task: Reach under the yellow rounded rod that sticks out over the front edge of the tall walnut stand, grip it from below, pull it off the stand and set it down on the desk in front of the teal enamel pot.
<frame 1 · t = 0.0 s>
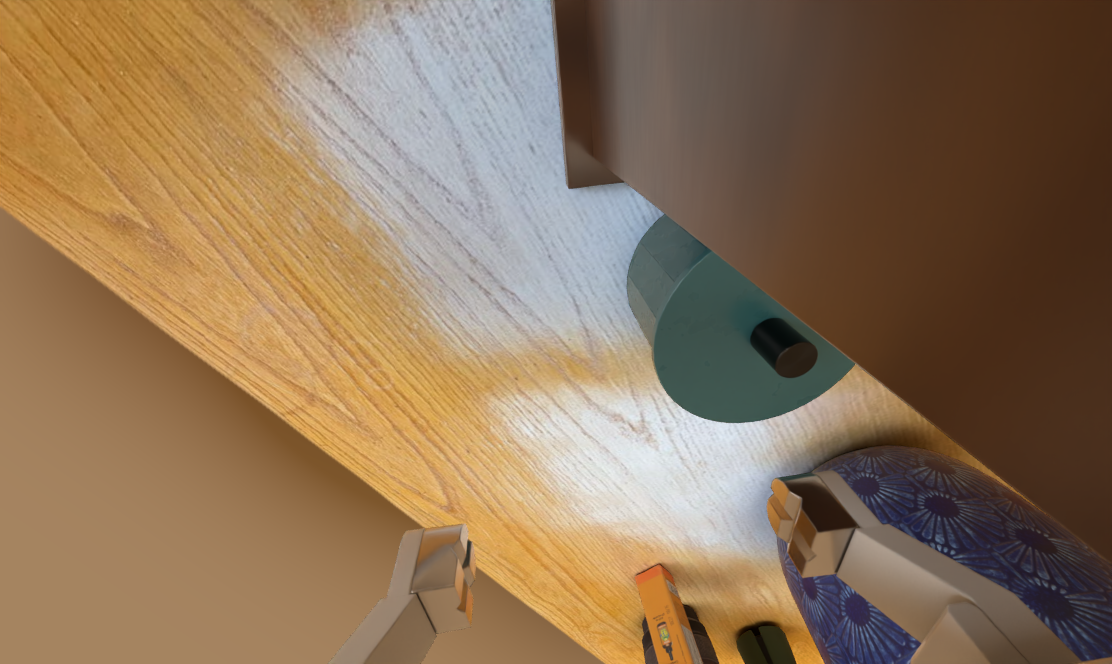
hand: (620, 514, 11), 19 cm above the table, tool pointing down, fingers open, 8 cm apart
pot: (706, 275, 28), on the table
planter: (843, 488, 41), on the table
character mug: (756, 631, 55), on the table
camera lens: (668, 617, 51), on the table
stand: (669, 52, 22), on the table
supplement box: (653, 573, 46), on the table
pot lid: (763, 329, 22), point 7 cm above the table, touching pot
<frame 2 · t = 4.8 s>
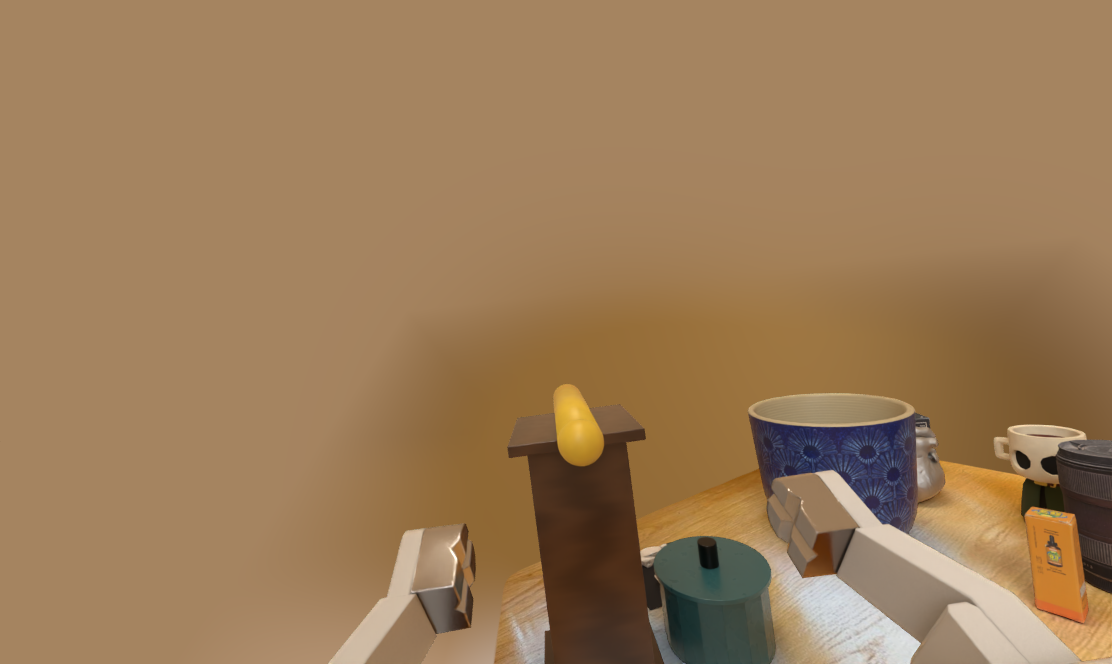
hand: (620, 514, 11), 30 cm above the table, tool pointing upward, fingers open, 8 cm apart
pot: (718, 636, 46), on the table
planter: (839, 534, 62), on the table
character mug: (1056, 525, 58), on the table
yellow rounded rod: (574, 432, 38), point 26 cm above the table, touching stand
heart: (910, 497, 70), on the table
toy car: (666, 571, 58), on the table
supplement box: (1062, 611, 43), on the table
pot lid: (710, 568, 45), point 7 cm above the table, touching pot
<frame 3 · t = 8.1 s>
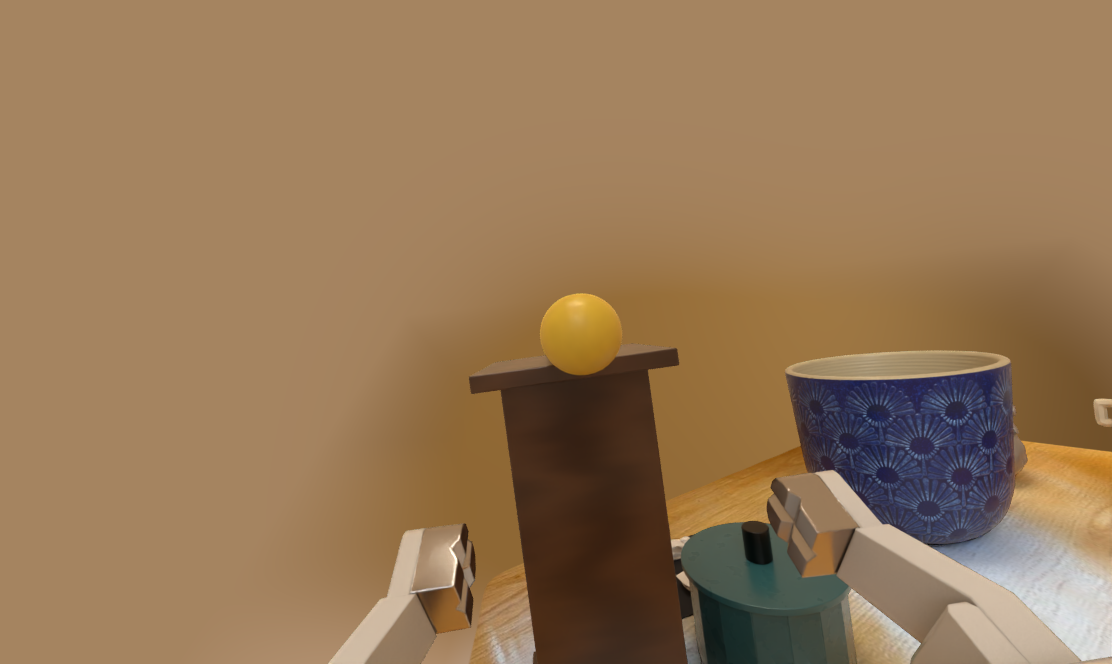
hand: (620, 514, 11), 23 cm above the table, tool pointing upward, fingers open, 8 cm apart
pot: (772, 658, 33), on the table
planter: (904, 522, 50), on the table
yellow rounded rod: (571, 360, 26), point 26 cm above the table, touching stand
heart: (980, 478, 58), on the table
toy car: (690, 571, 46), on the table
pot lid: (759, 564, 33), point 7 cm above the table, touching pot
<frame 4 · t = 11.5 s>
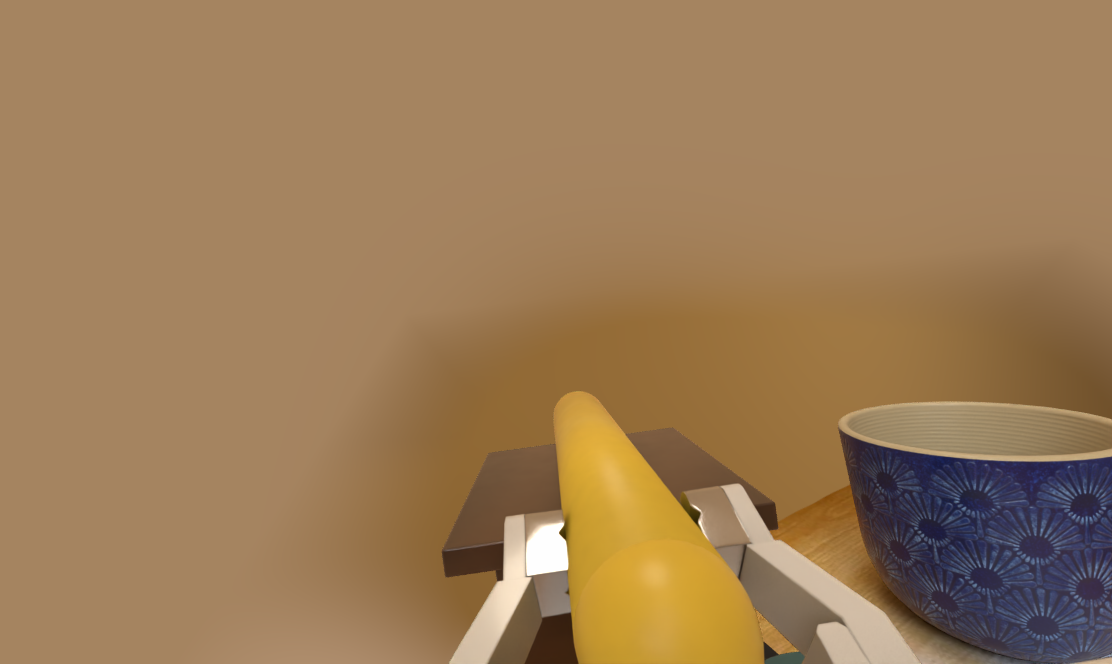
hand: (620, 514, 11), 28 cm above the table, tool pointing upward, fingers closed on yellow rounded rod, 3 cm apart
planter: (990, 618, 41), on the table
yellow rounded rod: (602, 503, 17), point 26 cm above the table, touching gripper, stand
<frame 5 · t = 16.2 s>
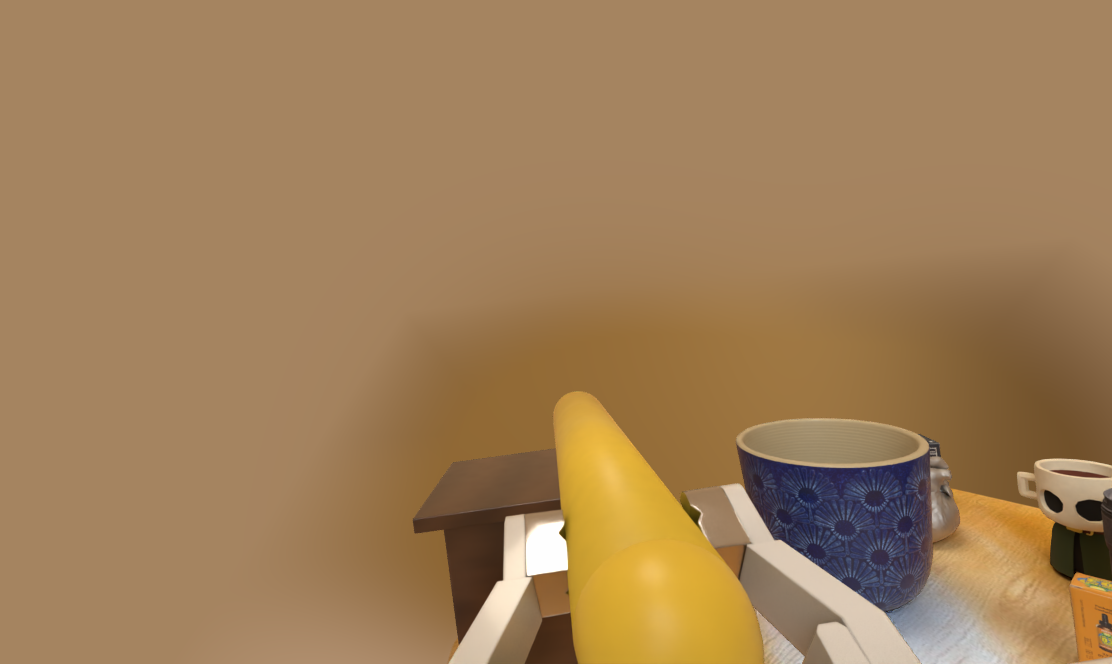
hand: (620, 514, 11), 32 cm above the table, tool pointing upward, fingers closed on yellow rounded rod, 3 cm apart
planter: (840, 585, 54), on the table
character mug: (1091, 578, 50), on the table
yellow rounded rod: (602, 503, 17), point 30 cm above the table, touching gripper
heart: (920, 535, 62), on the table
when the fingers open (15 cm above the table, at t = 21.3 s): yellow rounded rod drops 13 cm, on the table.
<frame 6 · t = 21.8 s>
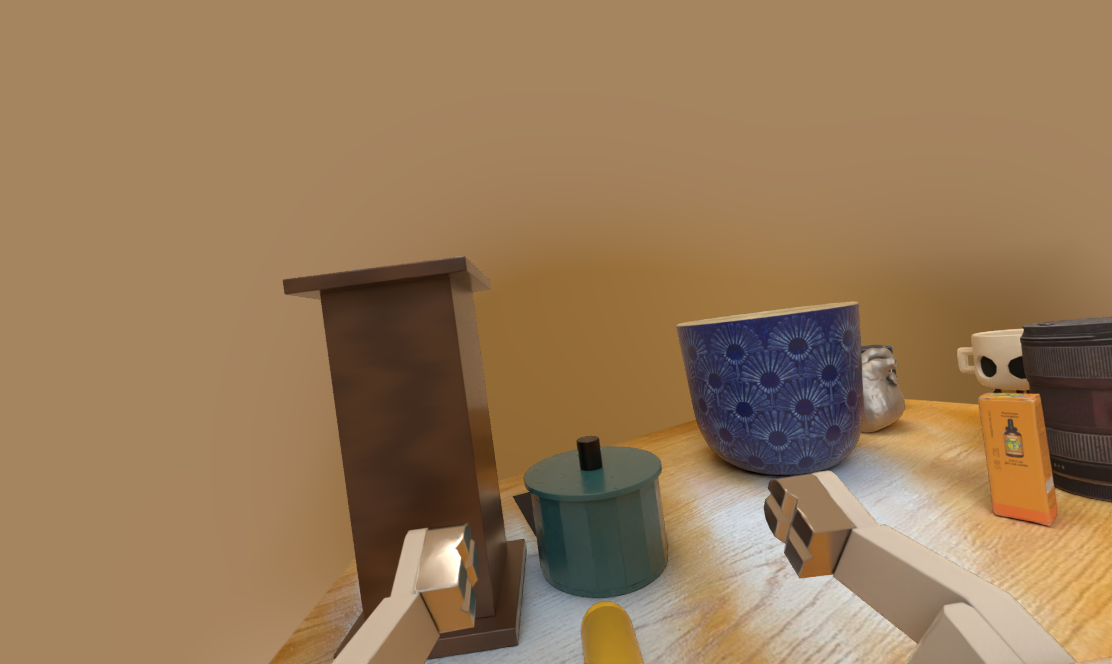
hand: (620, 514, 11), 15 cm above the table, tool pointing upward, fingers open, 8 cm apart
pot: (603, 557, 37), on the table
planter: (779, 462, 53), on the table
character mug: (1028, 443, 49), on the table
heart: (868, 428, 62), on the table
camera lens: (1108, 490, 37), on the table
stand: (448, 601, 33), on the table
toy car: (572, 502, 50), on the table
supplement box: (1025, 516, 35), on the table
pot lid: (592, 472, 37), point 7 cm above the table, touching pot
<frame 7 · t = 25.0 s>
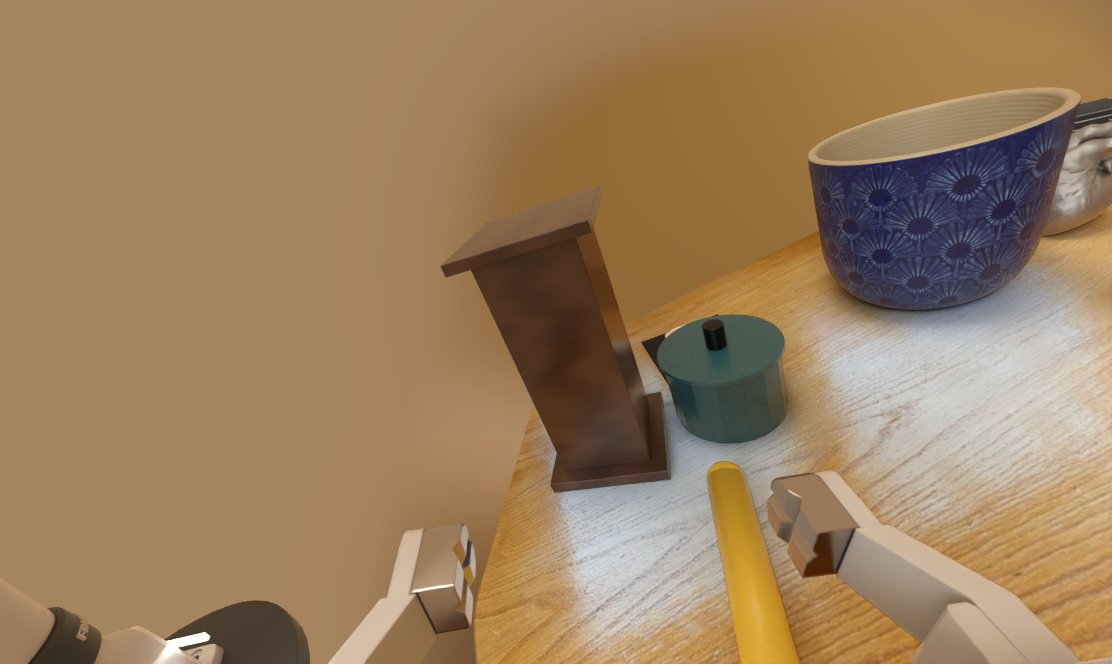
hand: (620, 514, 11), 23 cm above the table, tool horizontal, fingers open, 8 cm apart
pot: (729, 406, 45), on the table
planter: (917, 289, 52), on the table
yellow rounded rod: (772, 604, 28), on the table, tilted 40°
heart: (1048, 227, 53), on the table
small box: (1046, 191, 60), on the table
stand: (612, 442, 47), on the table
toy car: (695, 347, 57), on the table
pot lid: (717, 349, 42), point 7 cm above the table, touching pot
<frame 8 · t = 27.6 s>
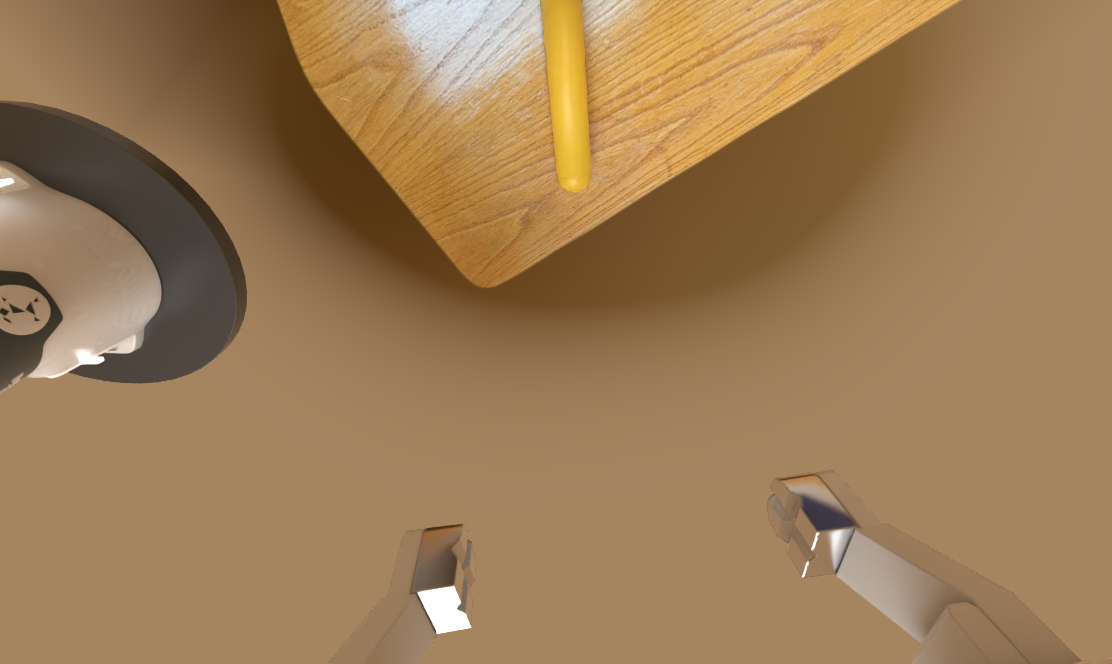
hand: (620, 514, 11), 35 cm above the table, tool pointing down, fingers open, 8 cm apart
yellow rounded rod: (581, 51, 35), point 1 cm above the table, tilted 66°
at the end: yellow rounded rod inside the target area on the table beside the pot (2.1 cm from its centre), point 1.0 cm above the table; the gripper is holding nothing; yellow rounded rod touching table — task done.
